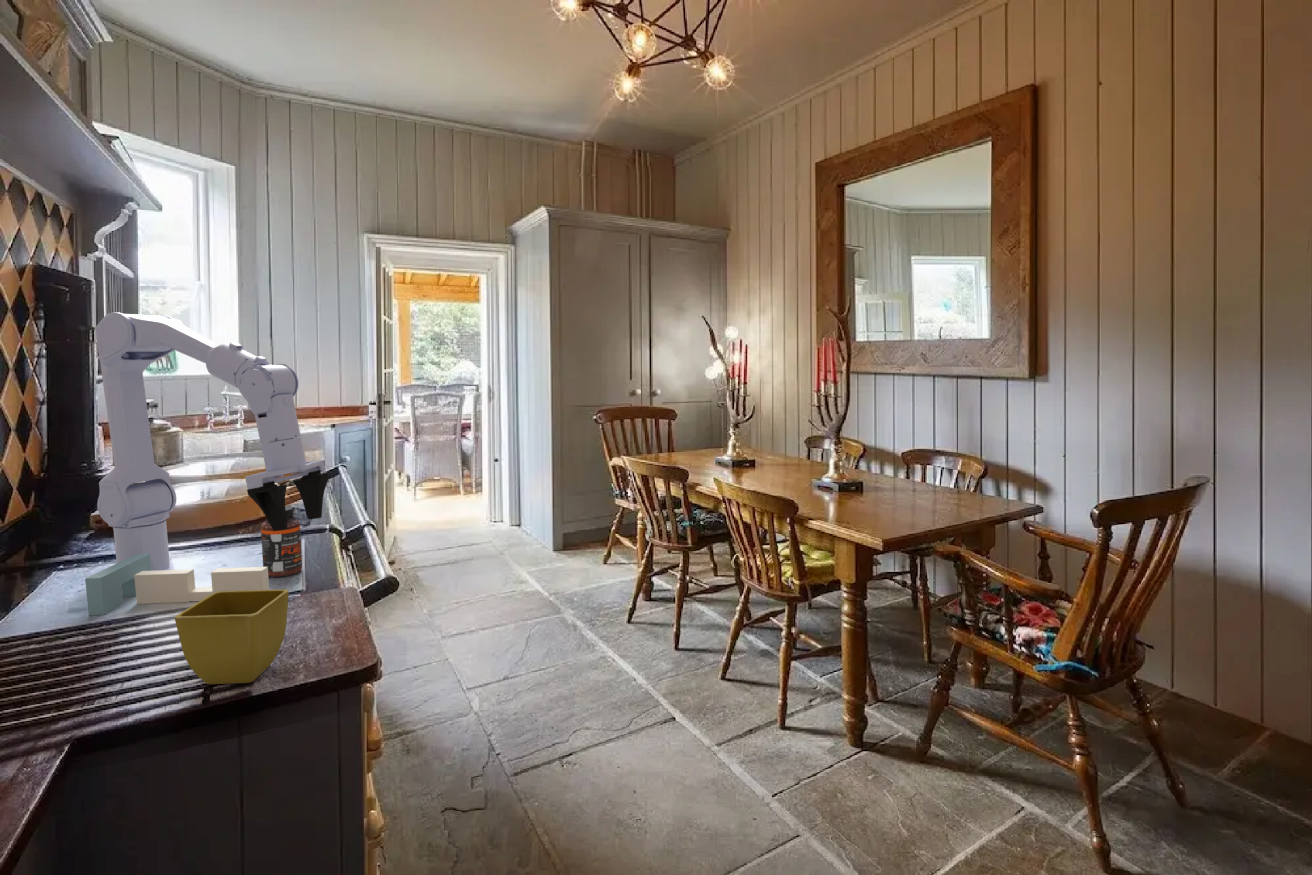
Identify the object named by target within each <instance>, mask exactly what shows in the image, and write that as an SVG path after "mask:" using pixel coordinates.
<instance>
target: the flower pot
mask: <svg viewBox="0 0 1312 875" xmlns="http://www.w3.org/2000/svg"><path fill="white" fill-rule="evenodd" d="M289 593H290V591H289V589H269V590H249V591H217V592H215V593H213V594H211V595H209V596H207V597H206V598H204V599H202V600H201V601H199V602H195V603H194V604H193V605H191V606H189V607H188V608H186V609H184V611H181V612H179V613H178V614H177V615H176V616H174V622H175V626H176V630H177V633H178V637H179V638H178V639H179V641H180V642H179V643H180V645H181V646H180V647H181V650H182V653H183V656H184V658H185V661H186V662H187V665H188V666H189V668H190V669H191V670H192V671H193V673H194V674H195V675H196V676H197V677H199V679H200V680H201V681H203V682H204V683H205V684H207V685H224V684H226V685H227V684H248V683H252V682H254V681H255V680H256V679H257V678H258V677H259V676H260V675H261V674H262V673H263V672H265V671H266V670H267V669H268V668H269V667H270V666H271V665H273V662H274V660H275V659H276V656H277V654H278V653H279V651H280V648H281V646H282V644H283V641H284V637H285V634H286V628H287V619H288V608H289V607H288V606H289Z"/></svg>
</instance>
